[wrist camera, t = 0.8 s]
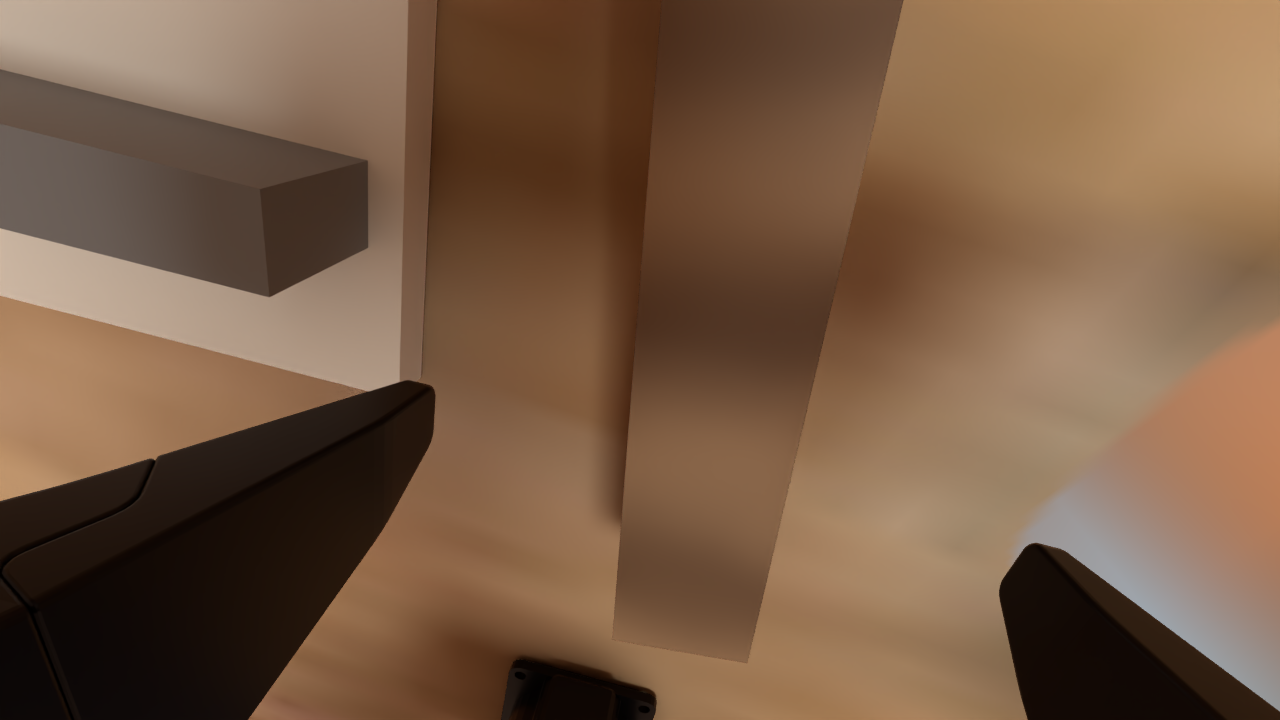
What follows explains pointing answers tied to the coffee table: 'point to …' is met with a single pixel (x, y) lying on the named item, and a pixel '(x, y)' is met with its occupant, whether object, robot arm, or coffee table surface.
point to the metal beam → (736, 296)
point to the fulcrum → (224, 174)
